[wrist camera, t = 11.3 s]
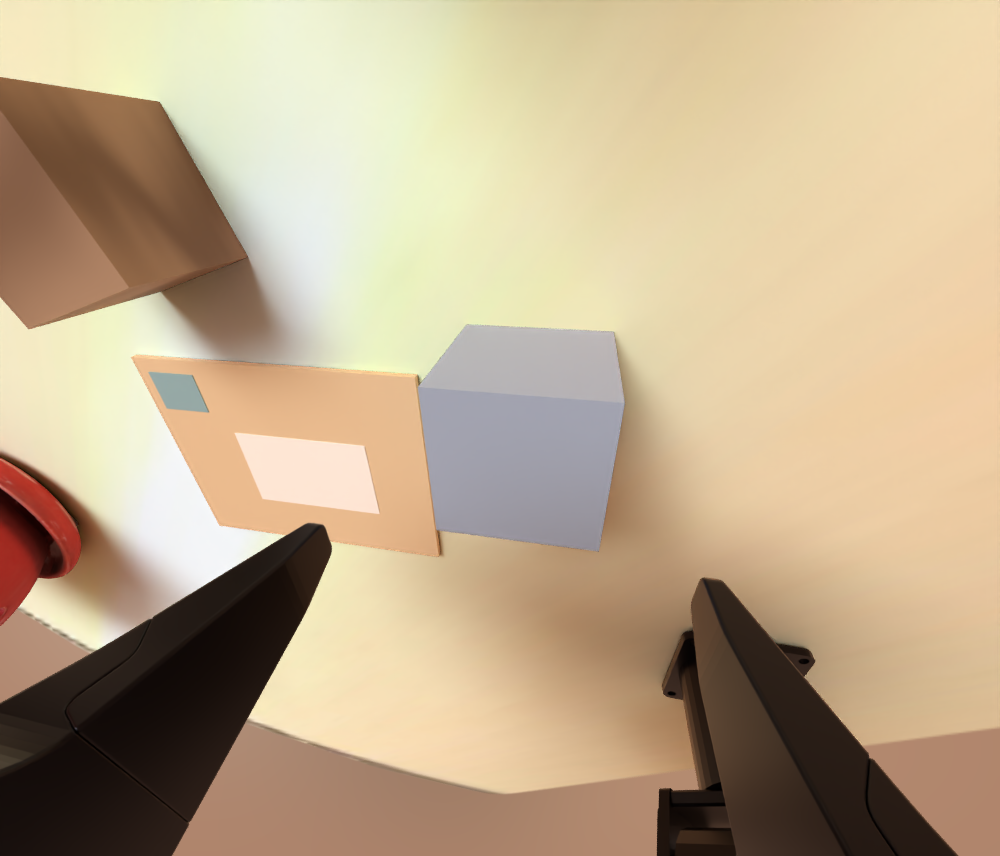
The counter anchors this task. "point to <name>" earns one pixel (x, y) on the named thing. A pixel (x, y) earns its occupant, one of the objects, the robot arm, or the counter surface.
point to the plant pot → (31, 537)
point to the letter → (302, 447)
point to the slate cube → (523, 433)
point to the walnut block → (98, 203)
